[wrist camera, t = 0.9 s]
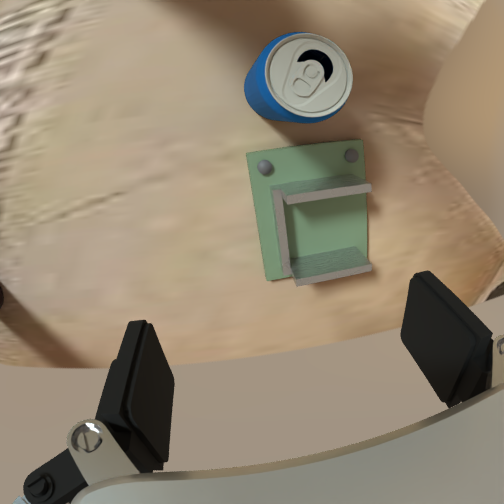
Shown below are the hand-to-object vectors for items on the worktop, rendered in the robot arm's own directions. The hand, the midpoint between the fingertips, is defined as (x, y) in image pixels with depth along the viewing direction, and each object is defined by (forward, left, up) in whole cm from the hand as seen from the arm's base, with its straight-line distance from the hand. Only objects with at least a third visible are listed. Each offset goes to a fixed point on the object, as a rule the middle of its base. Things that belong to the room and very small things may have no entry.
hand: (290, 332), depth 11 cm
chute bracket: (+5, +7, -22) cm, 23 cm away
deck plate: (+4, +7, -23) cm, 24 cm away
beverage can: (-9, +5, -23) cm, 25 cm away
